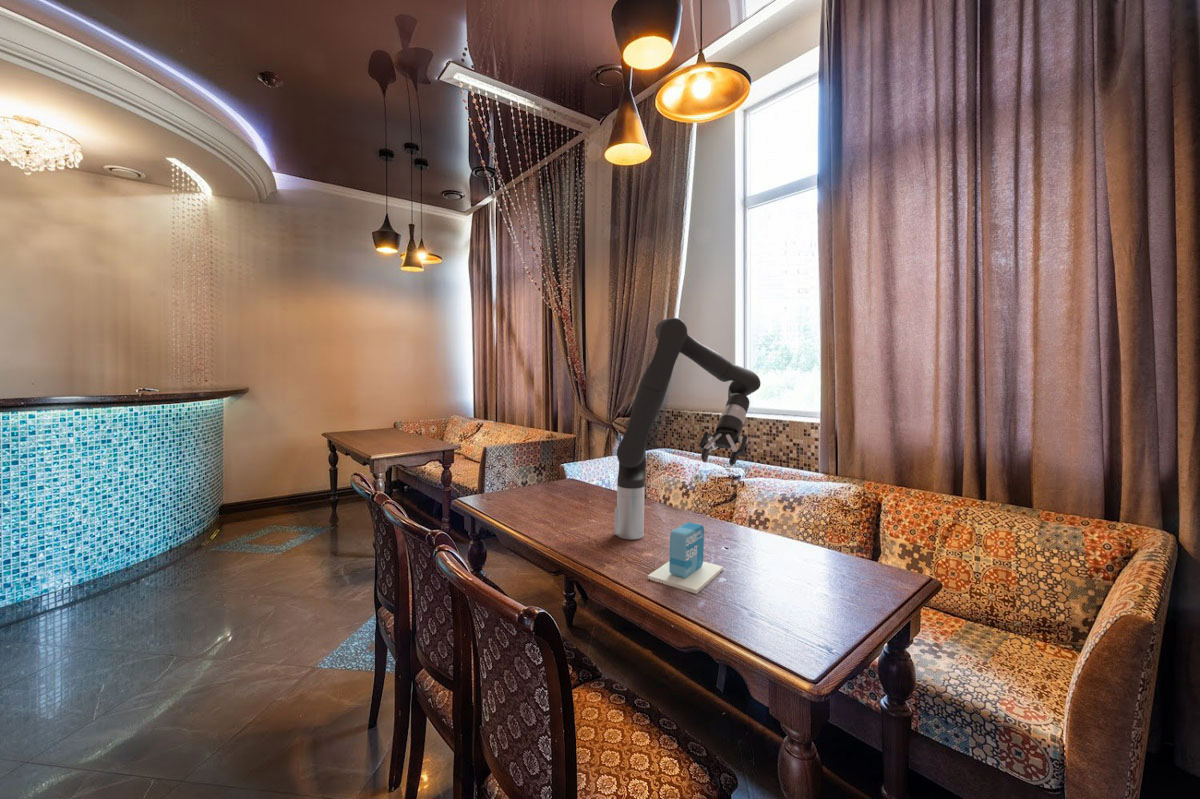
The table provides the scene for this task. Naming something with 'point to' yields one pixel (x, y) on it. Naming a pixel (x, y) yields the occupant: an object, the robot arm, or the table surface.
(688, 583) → the cream mat
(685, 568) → the data package
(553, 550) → the table surface
